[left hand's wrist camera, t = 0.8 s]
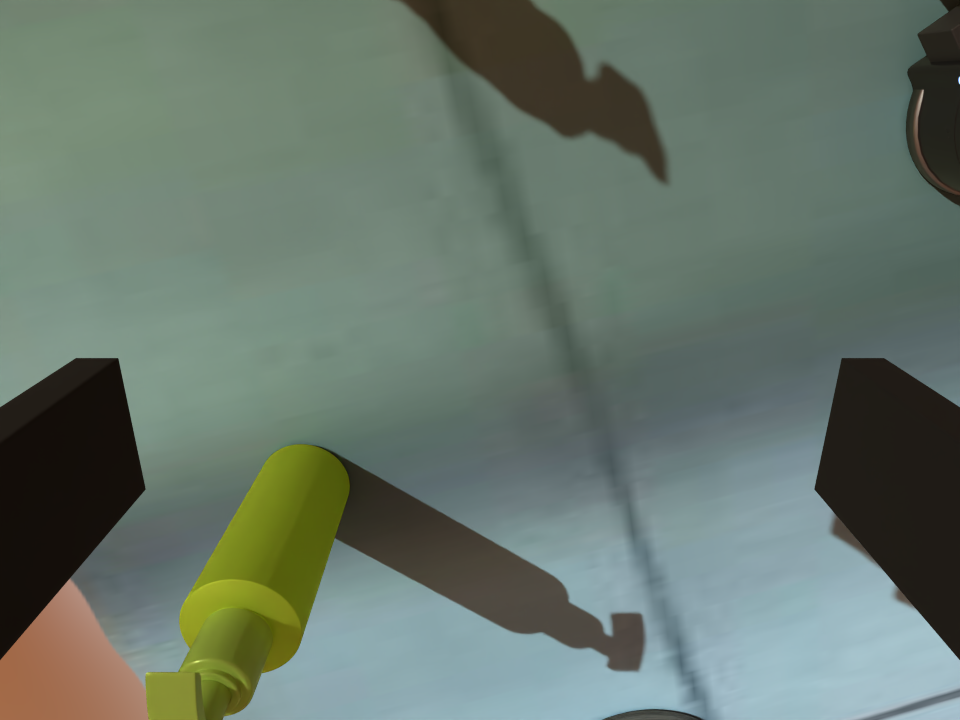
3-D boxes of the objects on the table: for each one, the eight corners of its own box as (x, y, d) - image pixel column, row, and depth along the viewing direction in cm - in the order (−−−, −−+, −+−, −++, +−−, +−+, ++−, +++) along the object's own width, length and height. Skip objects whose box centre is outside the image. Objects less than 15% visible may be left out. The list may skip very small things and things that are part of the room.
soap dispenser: (345, 429, 43) (244, 684, 25) (352, 520, 46) (265, 813, 27) (254, 429, 43) (83, 683, 25) (266, 520, 46) (120, 812, 27)
